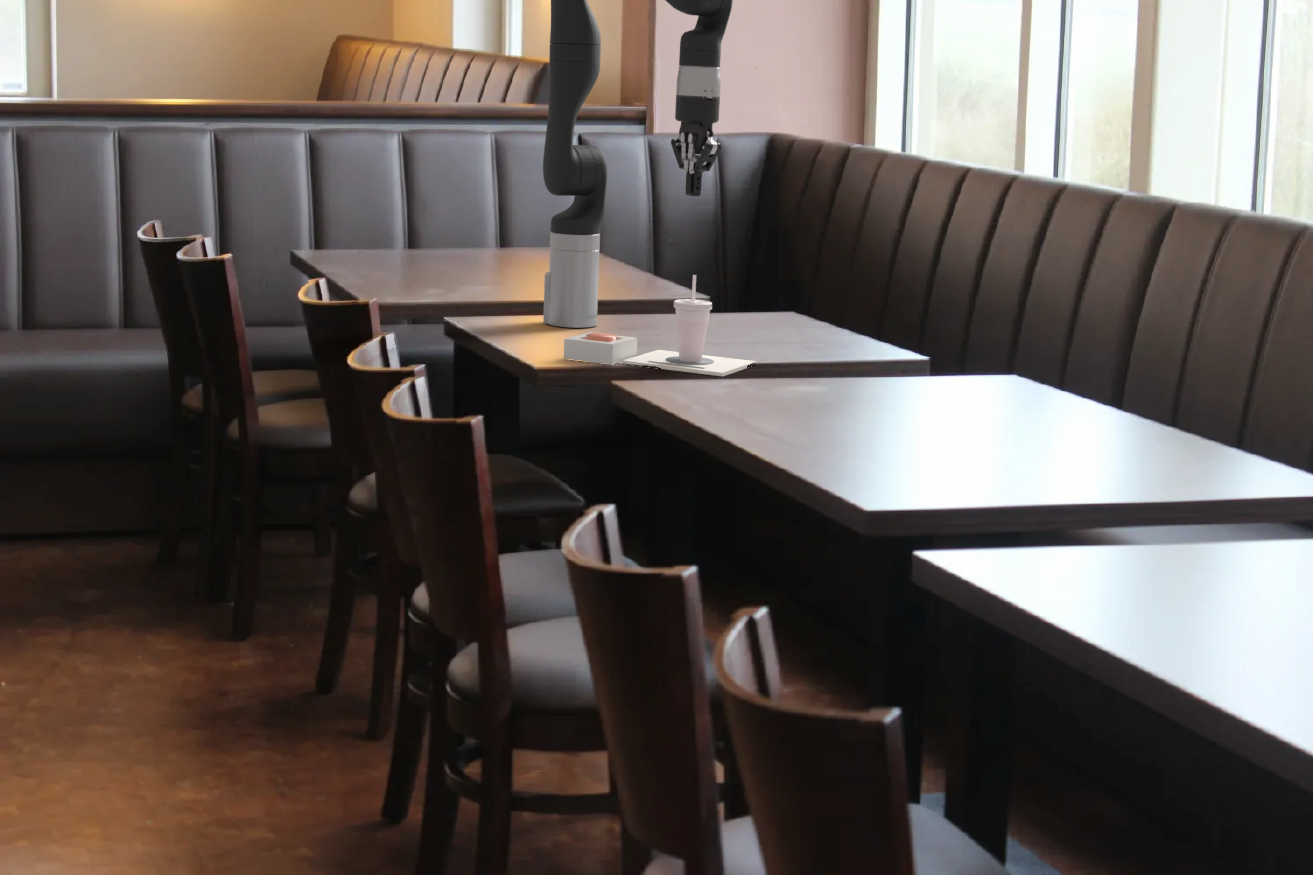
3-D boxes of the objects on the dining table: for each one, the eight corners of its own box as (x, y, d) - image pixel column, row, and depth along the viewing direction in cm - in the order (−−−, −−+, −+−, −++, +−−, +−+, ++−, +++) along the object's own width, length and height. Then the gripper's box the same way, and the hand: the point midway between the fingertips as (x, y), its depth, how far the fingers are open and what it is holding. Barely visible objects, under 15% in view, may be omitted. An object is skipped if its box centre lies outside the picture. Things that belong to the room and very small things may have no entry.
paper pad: (621, 364, 279) (622, 359, 279) (658, 353, 292) (658, 349, 292) (722, 376, 272) (722, 372, 272) (756, 364, 284) (756, 360, 284)
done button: (580, 356, 282) (580, 335, 281) (594, 352, 286) (594, 332, 286) (607, 359, 280) (607, 338, 279) (620, 356, 284) (621, 335, 283)
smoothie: (710, 358, 285) (715, 274, 282) (708, 364, 279) (712, 278, 276) (672, 355, 285) (676, 272, 282) (669, 361, 279) (673, 276, 276)
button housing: (563, 359, 281) (564, 338, 280) (589, 352, 289) (589, 332, 288) (612, 365, 277) (613, 344, 277) (636, 358, 285) (637, 337, 284)
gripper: (659, 91, 295) (654, 192, 299) (700, 94, 284) (695, 199, 288) (695, 93, 299) (690, 192, 303) (737, 96, 288) (732, 199, 292)
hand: (693, 195), depth 295 cm, fingers closed
